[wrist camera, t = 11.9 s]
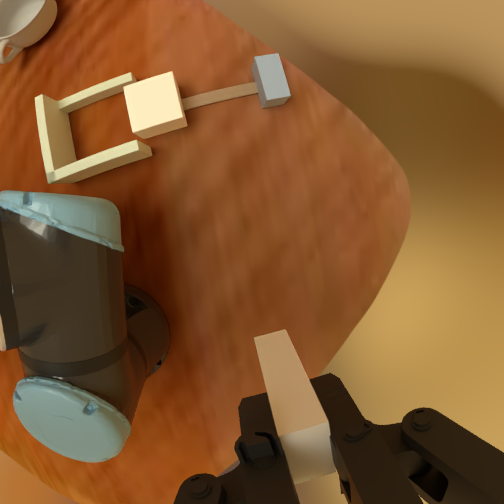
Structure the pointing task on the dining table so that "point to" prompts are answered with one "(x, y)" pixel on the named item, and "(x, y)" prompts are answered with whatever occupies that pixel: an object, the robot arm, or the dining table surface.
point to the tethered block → (198, 97)
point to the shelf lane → (61, 143)
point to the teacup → (24, 24)
